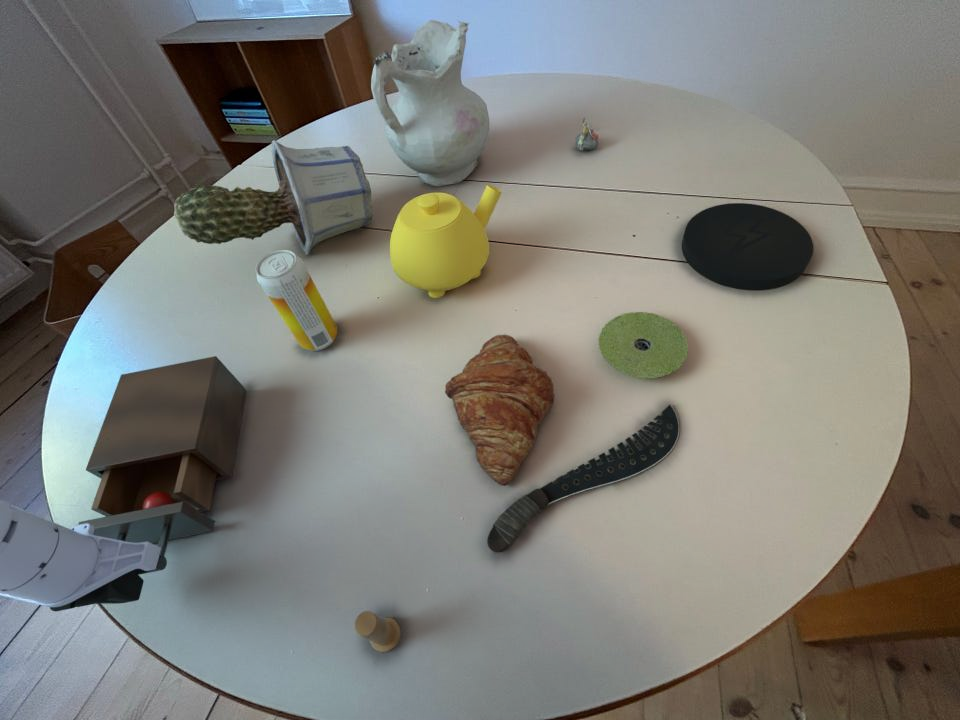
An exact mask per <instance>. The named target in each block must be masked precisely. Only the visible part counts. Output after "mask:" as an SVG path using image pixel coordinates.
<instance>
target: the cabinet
mask: <svg viewBox="0 0 960 720" xmlns="http://www.w3.org/2000/svg"><path fill="white" fill-rule="evenodd" d="M247 392H248V390H247V389H246V388H245V386H244V384H242V383H241V382H240V381H239V380H238V379H237V377H236V376H235V375H234V374H233V373H232V372H231V370H229V369H228V367H226V365H225V364H224V363H223V362H222V361H221V360H220V359H219V357H218V356H217V355H215V356H214V355H213V356H208V357H204V358H198V359H193V360H189V361H183V362H179V363H174V364H168V365H163V366H158V367H153V368H148V369H142V370H139V371H138V370H137V371H132V372H128V373H123V374H120V376H119V379H118V381H117V384H116V387H115V390H114V393H113V395H112V398H111V401H110V402H109V403H110V404H109V406H108V409H107V411H106V414H105V417H104V420H103V422H102V425H101V427H100V431H99V432H98V436H97V438H96V441H95V443H94V445H93V449H92V452H91V454H90V457H89V460H88V461H87V462H88V463H87V465H86V467H85V471H86V472H88V473H89V474H92V475H93V476H95V477H97V478H99V479H102V476H103V473H104V470H108V469H113V468H118V467H123V466H128V465H133V464H138V463H143V462H148V461H153V460H158V459H163V458H168V457H174V456H179V455H184V454H189V453H193V454H194V455H196V456H197V457H198V458H199V459H201V460H202V461H203V462H205V463H206V464H207V465H209V466H210V467H211V468H212V469H214V470H215V471H216V472H217V476H216V481H215V482H217V481H222V480H226V479H227V480H228V479H231V478H232V477H233V472H234V468H235V461H236V456H237V450H238V444H239V438H240V431H241V425H242V420H243V414H244V413H243V412H244V410H245V409H244V408H245V403H246V396H247Z"/></svg>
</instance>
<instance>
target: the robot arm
mask: <svg viewBox="0 0 960 720" xmlns="http://www.w3.org/2000/svg"><path fill="white" fill-rule="evenodd" d="M94 530H95V526H94V525H92V524H90V523H85V524H80V525H78V524H75V525H73V526H71V527H70V528H69V527H66V526H64V525H61V524H59V523H57V522H54V521H53V520H49V519H47V518H44V517H42V516H39V515H38V514H35V513H32V512H29V511H28V510H25V509H23V508H20V507H18V506H15V505H13V504H12V503H11V502H8V501H5V500H4V499H1V498H0V601H3V600H9V599H13V600H16V601H17V600H18V601H22V602H24V603H25V602H26V603H30V604H34V605H38V606H41V607H42V606H43V607H47V608H49V609H50V611H52V612H62V611H66V610H71V609H75V608H80V607H86V606H87V607H88V606H91V605H92V606H93V605H98V604H99V605H101V604H104V605H105V604H106V605H107V604H108V605H109V604H110V605H111V604H115V605H116V604H117V605H118V604H126V603H131V602H137V601H139V600H140V598H141V594H142V590H143V585H144V582H145V580H144V579H143V577H141V575H138V574H137V573H136V572H135V571H134V569H142V570H145V571H150V570H155V569H156V566H157V562H158V559H159V554H160V549H161V547H159V546H158V545H156V544H154V543H150V542H148V541H147V542H141V543H132V542H126V541H121V540H116V539H111V538H105V537H100V536H95V535H94V534H93V533H94Z"/></svg>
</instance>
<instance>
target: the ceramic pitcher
mask: <svg viewBox="0 0 960 720" xmlns="http://www.w3.org/2000/svg"><path fill="white" fill-rule="evenodd" d="M456 20H457V24H458V25H457V29H456V28H454V26H452V25H450V24H449V23H447V22H443V21H437V20H433V19H431V20H430V19H429V20H428V21H427V22H425V23H423V24H421V25H420V26H418V28H417V29H416V30H415V33H414V35H413V38H412V39H411V41H410V42H407V43H395V44H393V46H392V51H391V54H390V50H383V53H380V54H379V55H378V56H376V57H375V60H374V61H372V63H374V66H373V68H372V73H371V79H370V82H371V83H370V89H371V93H372V97H373V100H374V103H375V105H376V108H377V111H378V112H379V114H380V115H381V117H382V119H383V121H384V122H385V129H384V131H385V135H386V138H387V141H388V144H389V146H390V147H391V149H392V150H393V152H394V154H396V156H397V157H398V158H399V160H400V161H401V162H402V163H403V164H404V165H406V166H407V167H408V168H410V169H411V170H413V171H415V172H417V175H418V178H419V181H420V182H422V183H425V184H428V185H431V186H434V187H442V186H447V185H448V186H449V185H454V184H460V183H461V182H462V181H463V180H465V179H466V178H467V177H468V176H470V174H471V173H472V172H473V171H474V170H475V169H476V167H477V166H478V158H479V156H480V155H481V154H482V152H483V151H484V149H485V147H486V144H487V142H488V139H489V133H490V116H489V110H488V105H487V103H486V102H485V100H484V98H482V97H481V96H480V95H479V94H478V93H476V92H475V91H474V90H471V89H470V88H468V87H466V86H464V85H463V82H462V67H463V60H464V56H465V50H466V43H467V39H466V38H467V32H468V30H469V28H468V27H469V26H468V25H469V24H470V22H466V21H465V22H464V21H460V20H458V19H456ZM389 77H390V78H391V79H392V80H393V81H394V84H395V86H396V87H397V91H398V99H397V101H396V102H395V104H393V106H392V108H391V107H390V105H389V102H388V97H387V92H386V83H387V80H388V78H389Z"/></svg>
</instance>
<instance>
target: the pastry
mask: <svg viewBox="0 0 960 720" xmlns="http://www.w3.org/2000/svg"><path fill="white" fill-rule="evenodd" d="M444 387H445V390H444V394H445V395H446V396H447V398H448V399H451V400H452V402H453V404H452V405H453V407H454V410H455V412H456V415H457V420H458V421H459V424H460V426H461V428H462V429H463V430H465V432H466V434H467V436H468V439H469V440H470V442H471V443H472V445H473V446H474V450H475V457H476V461H477V462H478V464H479V467H480V468H482V470H483V471H484V473H486V475H488V476H489V477H490V479H492V480H494V482H495V483H497V484H498V485H500V486H507V485H509V484H510V482H511V481H513V479H514V478H515V477H516V475H517V474H518V472H519V469H520V465H521V464H522V463H523V462H524V460H525V459H526V458H527V456H528V454H529V453H530V452H531V449H532V447H533V446H534V444H535V441H536V439H537V435H538V431H537V428H538V427H539V425H540V424H541V422H542V421H543V420H544V418H545V416H546V415H547V413H548V412H549V411H550V409H551V408H552V407H553V405H554V403H555V396H556V395H555V388H554V383H553V380H552V377H551V376H550V375H549V374H548V372H547V370H543V369H542V368H539V367H538V366H536V365H534V358H533V356H531V354H529V351H528V350H526V349H525V348H523V346H520V345H519V343H518V341H517V340H516V339H515V338H514V337H513V336H511V335H508V334H497V335H494V336H492V337H491V338H490V339H488V340H487V341H486V342H484V343H483V344H482V346H481V348H480V350H479V353H477V354H475V355H474V356H473V357H472V358H470V359H469V361H468V362H467V363H466V364H465V366H464V367H463V369H462V372H460V373H458V374H455V375H454V376H452V377H451V378H450V379H449V380H448V381H447V382H446V384H445V386H444Z"/></svg>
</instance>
